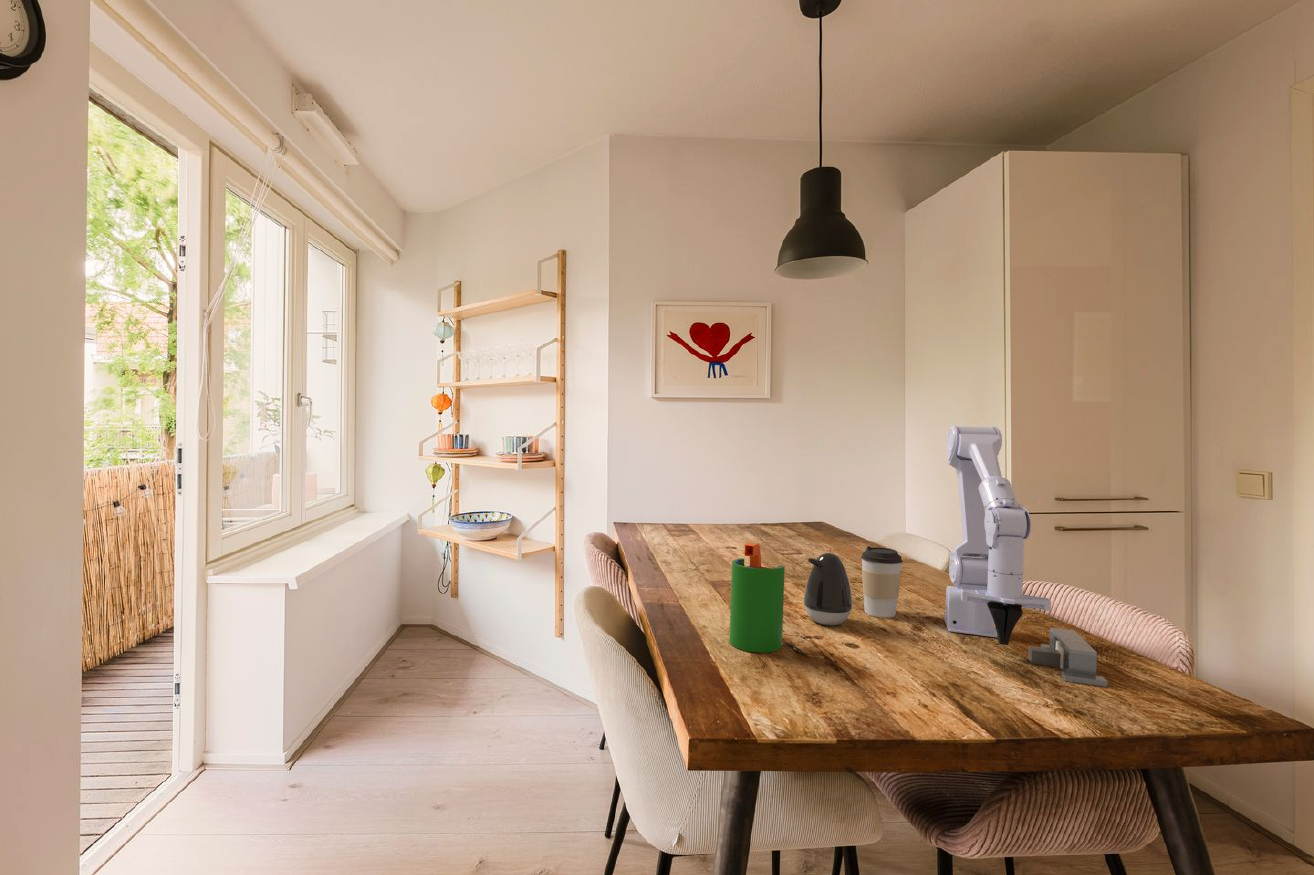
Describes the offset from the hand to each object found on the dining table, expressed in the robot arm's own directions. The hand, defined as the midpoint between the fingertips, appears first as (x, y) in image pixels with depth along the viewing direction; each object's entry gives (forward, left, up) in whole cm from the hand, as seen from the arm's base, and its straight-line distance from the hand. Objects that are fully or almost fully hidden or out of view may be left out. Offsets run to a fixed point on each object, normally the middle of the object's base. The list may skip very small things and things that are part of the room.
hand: (1002, 643), depth 111 cm
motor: (-45, -13, -3) cm, 46 cm away
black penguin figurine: (-33, +7, -3) cm, 33 cm away
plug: (+9, 0, -3) cm, 9 cm away
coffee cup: (-22, +19, -3) cm, 29 cm away
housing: (+11, 0, -3) cm, 11 cm away
